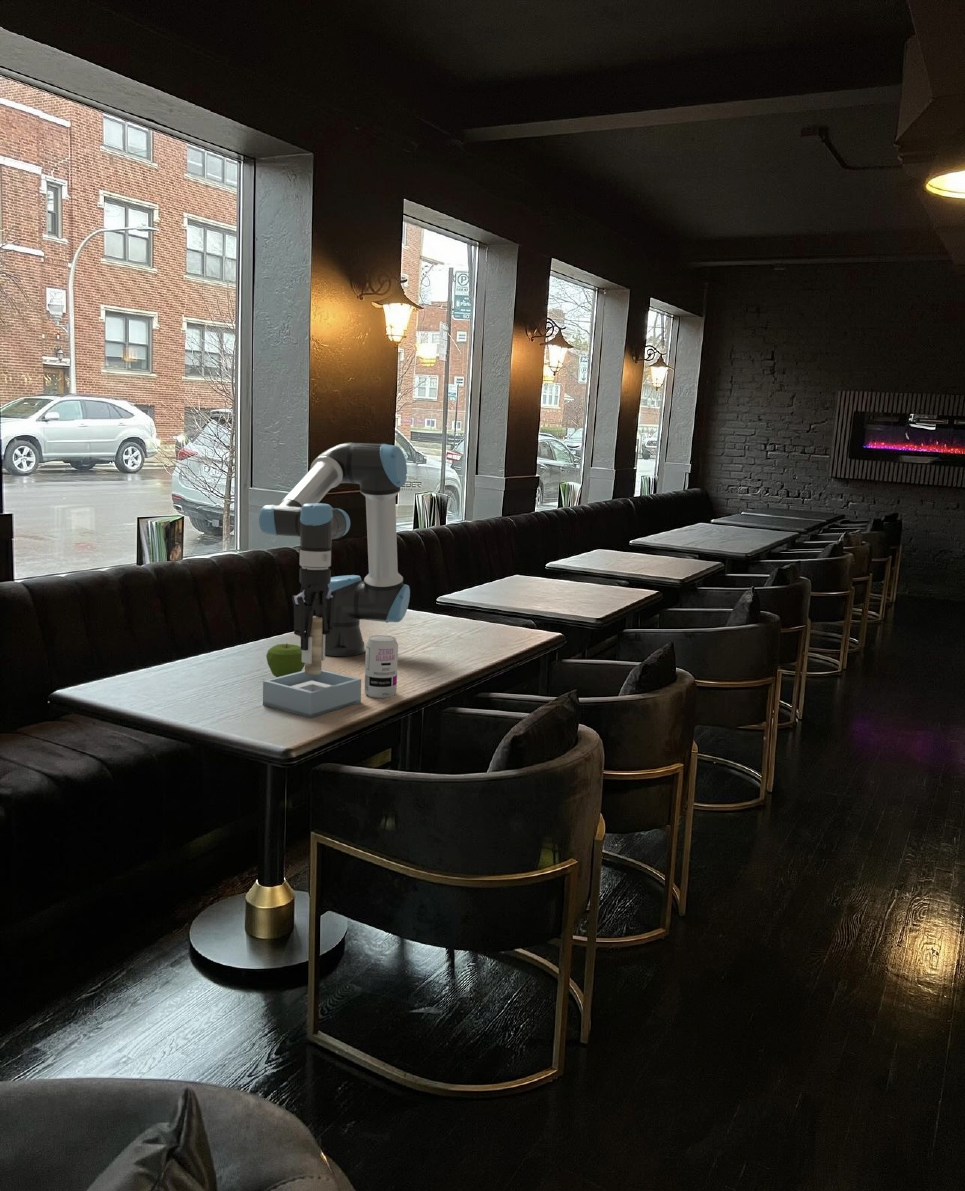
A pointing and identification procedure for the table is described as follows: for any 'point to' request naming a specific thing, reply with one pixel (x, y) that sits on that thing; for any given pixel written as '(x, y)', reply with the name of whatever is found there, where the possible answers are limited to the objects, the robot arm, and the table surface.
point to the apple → (285, 659)
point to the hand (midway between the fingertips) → (313, 660)
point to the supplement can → (381, 666)
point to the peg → (315, 647)
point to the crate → (311, 692)
